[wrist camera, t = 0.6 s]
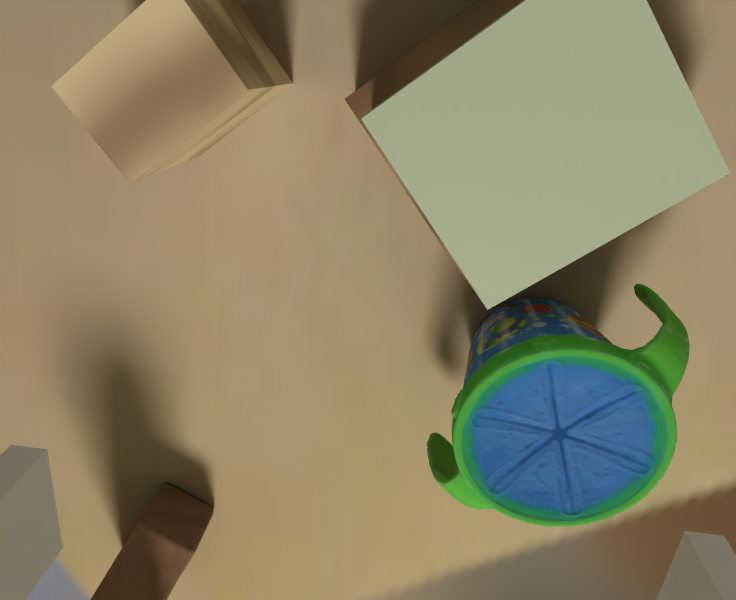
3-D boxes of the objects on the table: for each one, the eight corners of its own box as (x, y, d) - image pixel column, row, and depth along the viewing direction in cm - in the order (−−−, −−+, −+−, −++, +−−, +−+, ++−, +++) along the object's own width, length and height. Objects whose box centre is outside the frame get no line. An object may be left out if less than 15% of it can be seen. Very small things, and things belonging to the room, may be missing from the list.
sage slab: (371, 109, 28) (361, 118, 24) (580, -42, 25) (615, -65, 21) (478, 273, 31) (487, 310, 26) (679, 154, 28) (729, 173, 23)
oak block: (144, 80, 33) (51, 86, 25) (237, 1, 31) (168, -22, 23) (201, 154, 35) (130, 183, 26) (293, 83, 33) (247, 89, 24)
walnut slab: (355, 93, 33) (344, 99, 28) (567, -63, 29) (594, -86, 24) (467, 263, 36) (473, 293, 31) (670, 142, 32) (711, 155, 28)
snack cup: (473, 461, 41) (488, 579, 32) (382, 352, 38) (368, 445, 29) (683, 345, 36) (773, 443, 27) (595, 212, 34) (661, 269, 24)
